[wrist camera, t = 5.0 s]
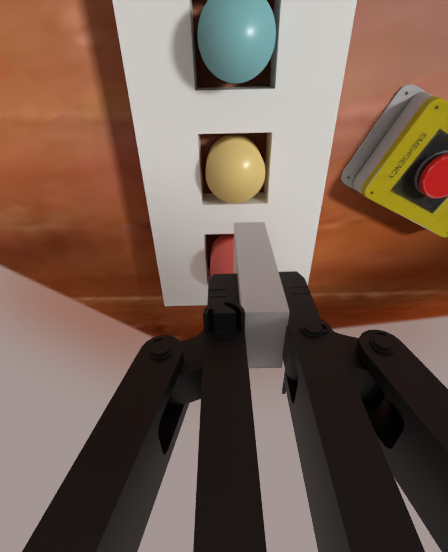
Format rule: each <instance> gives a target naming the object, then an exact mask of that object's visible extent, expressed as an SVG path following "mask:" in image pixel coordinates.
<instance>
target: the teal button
mask: <svg viewBox="0 0 448 552" xmlns="http://www.w3.org/2000/svg"><path fill="white" fill-rule="evenodd" d="M275 39H276V25H275V19H274V15H273V12H272V9H271V7H270V5H269V3H268V2H267V0H208V1H207V3H206V4H205V6H204V8H203V10H202V12H201V15H200V19H199V23H198V46H199V50H200V54H201V57H202V59H203V61H204V63H205V64H206V66H207V68H208V69H209V70H210V71H211V72H212V73H213V74H214V75H215V76H216V77H218V78H219V79H221V80H223V81H226V82H229V83H243V82H246V81H249V80H251V79H253V78H254V77H256V76H257V75H258V74H259V73H260V72H261V71H262V70H263V69H264V68H265V66H266V65H267V63H268V62H269V60H270V58H271V55H272V53H273V50H274V46H275Z"/></svg>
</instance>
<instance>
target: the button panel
mask: <svg viewBox="0 0 448 552" xmlns="http://www.w3.org/2000/svg"><path fill="white" fill-rule="evenodd" d="M112 1H113V7H114V13H115V19H116V24H117V30H118V36H119V42H120V48H121V54H122V60H123V65H124V71H125V77H126V83H127V89H128V95H129V101H130V106H131V112H132V118H133V124H134V130H135V136H136V142H137V147H138V153H139V159H140V165H141V171H142V177H143V182H144V188H145V194H146V200H147V206H148V212H149V218H150V223H151V229H152V235H153V241H154V247H155V253H156V259H157V264H158V270H159V276H160V282H161V288H162V294H163V300H164V305H165V306H192V305H207V301H208V281H209V280H210V278H211V274H210V269H208V263H207V246H206V234H234V223H242V222H265V226H266V229H267V233H268V237H269V240H270V244H271V247H272V251H273V254H274V258H275V262H276V265H277V269H278V272H288V271H297V272H298V273H299V274H301V275H302V276H303V277H304V278H305V280H306V283H307V285H308V281H309V275H310V269H311V263H312V257H313V252H314V246H315V240H316V234H317V228H318V223H319V217H320V211H321V205H322V200H323V194H324V188H325V182H326V176H327V171H328V165H329V159H330V153H331V148H332V142H333V136H334V130H335V124H336V119H337V113H338V107H339V101H340V95H341V90H342V84H343V78H344V72H345V67H346V61H347V55H348V49H349V43H350V38H351V32H352V26H353V20H354V15H355V9H356V3H357V0H275V1H274V19H275V25H276V39H275V46H274V50H273V53H272V55H271V71H270V86H249V87H206V88H197V76H196V59H195V42H194V25H193V8H192V0H112ZM265 132H267V141H266V158H265V179H264V192H258V193H257V194H256V195H255V196H253V197H252V198H251V199H249V200H247V201H244V202H240V203H229V202H225V201H223V200H221V199H219V198H218V197H216V196H215V195H214V194H213V193H204V194H203V178H202V161H201V144H200V134H223V133H265Z"/></svg>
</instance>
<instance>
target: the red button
mask: <svg viewBox="0 0 448 552" xmlns="http://www.w3.org/2000/svg"><path fill="white" fill-rule="evenodd" d="M210 274H211V277H212V276H213V274H234V234H222V235H220V236H219V237H218V238H217V239H216V240H215V241H214V243H213V244H212V247H211V260H210Z"/></svg>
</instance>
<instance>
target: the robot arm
mask: <svg viewBox="0 0 448 552" xmlns="http://www.w3.org/2000/svg"><path fill="white" fill-rule="evenodd" d="M203 321H204V330H203V331H202V332H201V333H200V334H199V335H197V336H196V337H194V338H191V339H189V340H185V341H182V342H180V341H179V340H178V339H176V338H175V337H172V336H165V335H161V336H157V337H154V338H152V339H150V340H148V341H147V342H146V343H145V344H144V345H143V346H142V347H141V349H140V351H139V353H138V354H137V356H136V357H135V359H134V361H133V363H132V364H131V366H130V368H129V369H128V371H127V373H126V375H125V376H124V378H123V380H122V382H121V383H120V385H119V387H118V388H117V390H116V392H115V394H114V395H113V397H112V399H111V400H110V402H109V404H108V405H107V407H106V409H105V411H104V412H103V414H102V416H101V418H100V419H99V421H98V423H97V424H96V426H95V428H94V430H93V431H92V433H91V435H90V436H89V438H88V440H87V441H86V443H85V445H84V447H83V448H82V450H81V452H80V453H79V455H78V457H77V459H76V460H75V462H74V464H73V465H72V467H71V469H70V471H69V472H68V474H67V476H66V478H65V479H64V481H63V483H62V484H61V486H60V488H59V489H58V491H57V493H56V495H55V496H54V498H53V500H52V501H51V503H50V505H49V507H48V508H47V510H46V512H45V513H44V515H43V517H42V519H41V521H40V522H39V524H38V526H37V527H36V529H35V531H34V532H33V534H32V536H31V538H30V539H29V541H28V543H27V544H26V546H25V548H24V550H23V551H22V552H137V551H138V548H139V545H140V542H141V539H142V537H143V534H144V531H145V528H146V525H147V522H148V520H149V517H150V514H151V511H152V508H153V505H154V502H155V500H156V496H157V494H158V491H159V488H160V485H161V482H162V479H163V476H164V474H165V471H166V468H167V465H168V462H169V459H170V457H171V454H172V451H173V448H174V445H175V442H176V439H177V437H178V434H179V431H180V428H181V425H182V422H183V419H184V416H185V414H186V411H187V408H188V405H189V403H190V402H193V401H196V400H199V399H201V411H200V431H199V452H198V472H197V491H196V510H195V530H194V551H193V552H266V542H265V531H264V522H263V513H262V512H263V511H262V501H261V491H260V481H259V471H258V461H257V450H256V440H255V430H254V420H253V410H252V400H251V390H250V380H249V369H248V368H281V367H282V362H283V361H284V365H285V374H284V382H283V388H282V393H283V394H285V392H287V397H288V402H289V407H290V412H291V417H292V422H293V427H294V432H295V437H296V442H297V447H298V452H299V457H300V462H301V467H302V472H303V477H304V482H305V487H306V492H307V497H308V502H309V507H310V512H311V517H312V522H313V527H314V532H315V537H316V542H317V547H318V552H425V551H424V548H423V546H422V544H421V541H420V539H419V536H418V534H417V532H416V529H415V527H414V524H413V522H412V520H411V517H410V515H409V513H408V510H407V508H406V505H405V503H404V500H403V498H402V496H401V493H400V491H399V488H398V486H397V484H396V481H397V482H398V484H399V485H400V487H401V489H402V490H403V492H404V493H405V495H406V496H407V498H408V500H409V501H410V503H411V504H412V506H413V507H414V509H415V510H416V512H417V513H418V515H419V517H420V518H421V520H422V521H423V523H424V525H425V526H426V528H427V529H428V531H429V532H430V534H431V535H432V537H433V539H434V540H435V542H436V543H437V545H438V546H439V548H440V549H441V551H442V552H448V389H447V388H446V387H445V386H444V385H443V384H442V383H441V382H440V381H439V380H438V379H437V378H436V377H435V376H434V375H433V373H431V372H430V371H429V369H428V368H427V367H425V365H424V364H423V363H422V362H421V361H420V360H419V359H418V358H417V357H416V356H415V355H414V354H413V353H412V352H411V351H410V350H409V349H408V348H407V347H406V346H405V345H404V344H403V343H402V342H401V341H400V340H399V339H398V338H396V337H395V336H394V335H392V334H389V333H387V332H385V331H380V330H368V331H365V332H363V333H362V334H361V336H360V337H359V338H355V337H350V336H346V335H342V334H338V333H336V332H334V331H333V330H332V328H331V327H330V326H329V324H328V323H326V322H325V321H323V320H321V318H320V316H319V313H318V311H317V308H316V306H315V303H314V301H313V298H312V296H311V294H310V291H309V288H308V285H307V283H306V280H305V278H304V277H303V276H302V275H301V274H299V273H298V272H297V271H288V272H278V269H277V265H276V262H275V258H274V254H273V251H272V247H271V244H270V240H269V237H268V233H267V229H266V226H265V222H242V223H234V274H213V276H212V277H211V278H210V280H209V281H208V301H207V307H206V308H205V310H204V312H203ZM394 478H395V479H396V481H395V479H394Z"/></svg>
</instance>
